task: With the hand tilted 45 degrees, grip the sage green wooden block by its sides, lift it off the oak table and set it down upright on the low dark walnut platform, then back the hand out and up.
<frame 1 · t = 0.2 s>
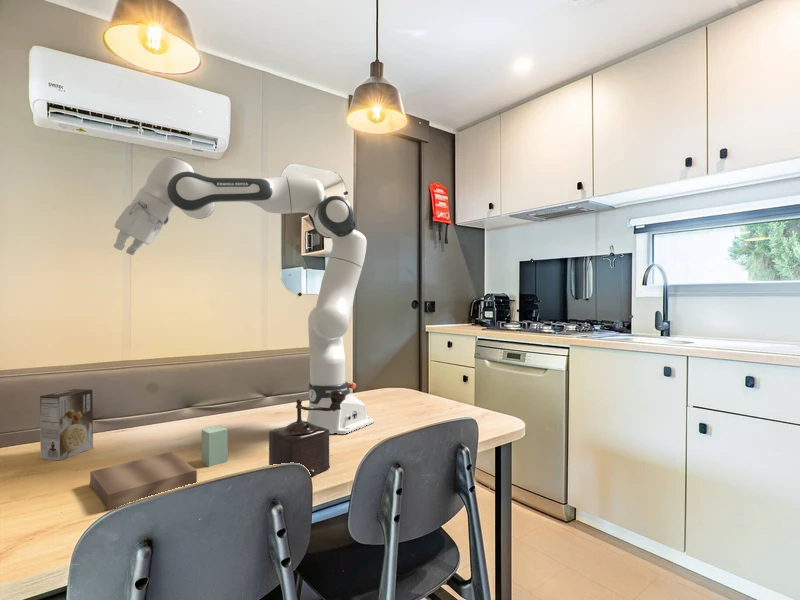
hand: (123, 251, 113), 53 cm above the table, tool tilted 25°, fingers open, 8 cm apart
manual coffee grinder: (309, 467, 99), on the table
sage block: (214, 461, 102), on the table
walnut platform: (143, 484, 89), on the table
coffee box: (67, 454, 108), on the table
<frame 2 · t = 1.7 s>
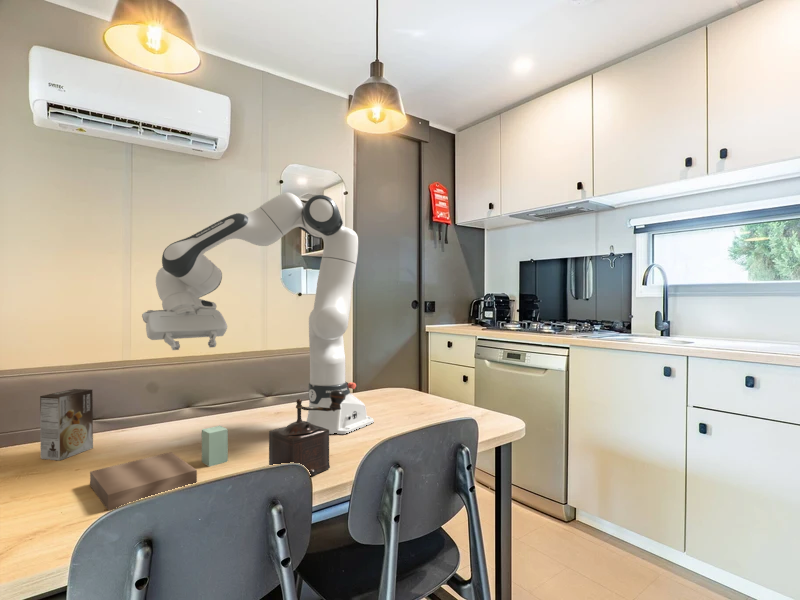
hand: (195, 347, 111), 27 cm above the table, tool tilted 45°, fingers open, 8 cm apart
nothing on the table moved.
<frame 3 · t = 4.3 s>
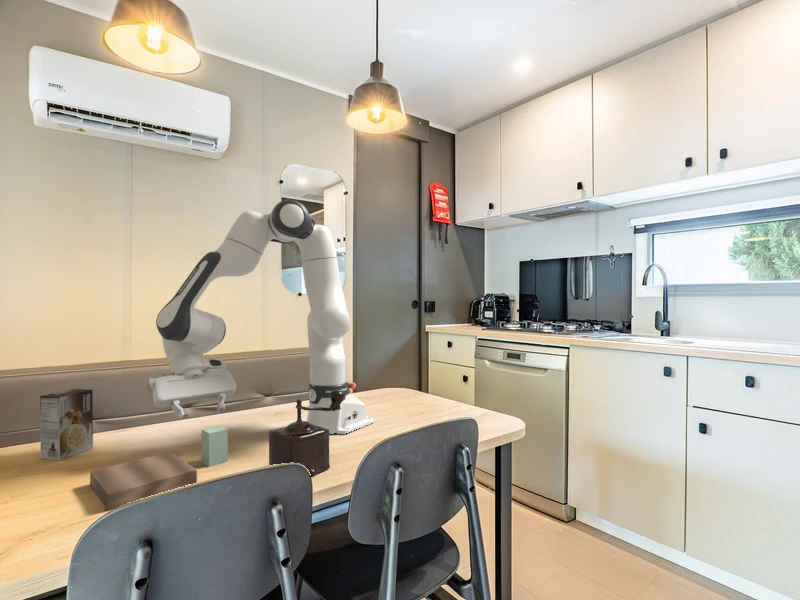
hand: (203, 413, 107), 11 cm above the table, tool tilted 45°, fingers open, 8 cm apart
nothing on the table moved.
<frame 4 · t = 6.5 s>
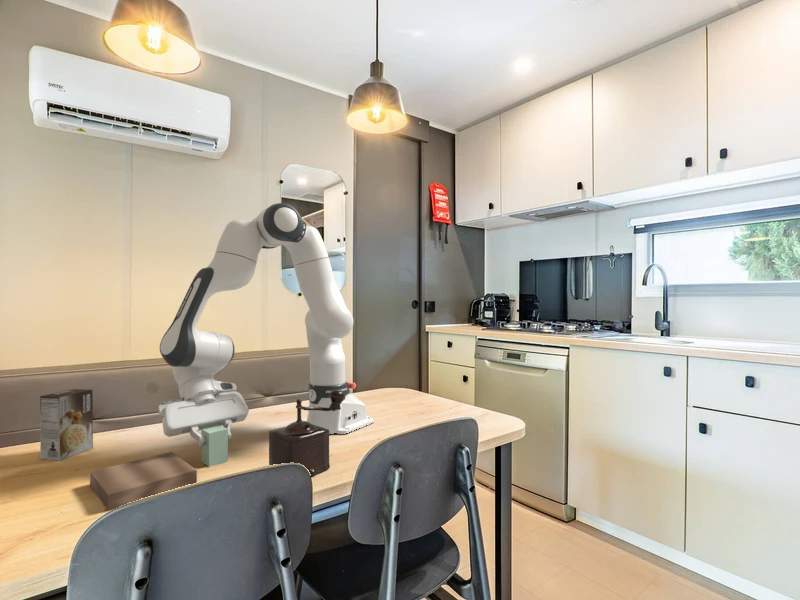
hand: (215, 441, 102), 5 cm above the table, tool tilted 45°, fingers closed on sage block, 4 cm apart
sage block: (214, 461, 102), on the table, touching gripper
everything else where it was.
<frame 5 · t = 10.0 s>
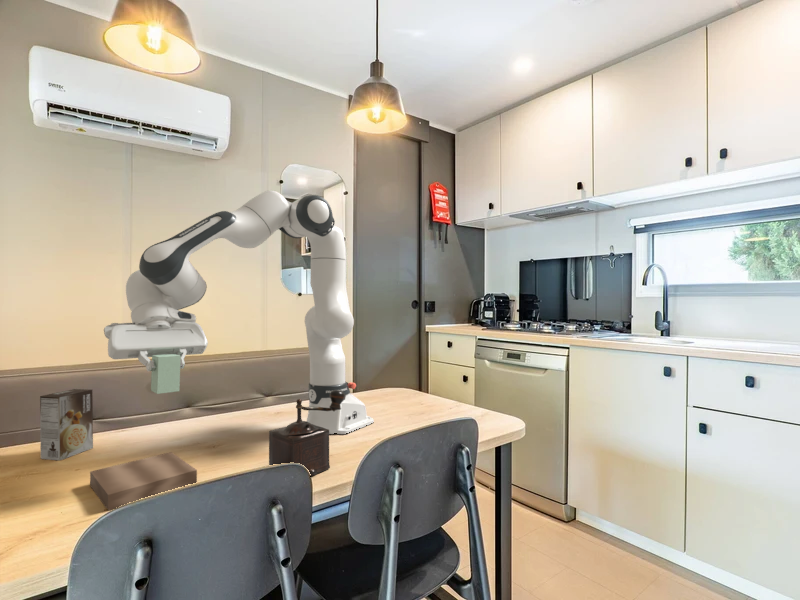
hand: (166, 368, 93), 25 cm above the table, tool tilted 45°, fingers closed on sage block, 4 cm apart
sage block: (165, 390, 93), point 19 cm above the table, touching gripper
everything else where it was.
when the fingers open (10 cm above the table, at t = 13.4 s): sage block drops 1 cm, resting on walnut platform.
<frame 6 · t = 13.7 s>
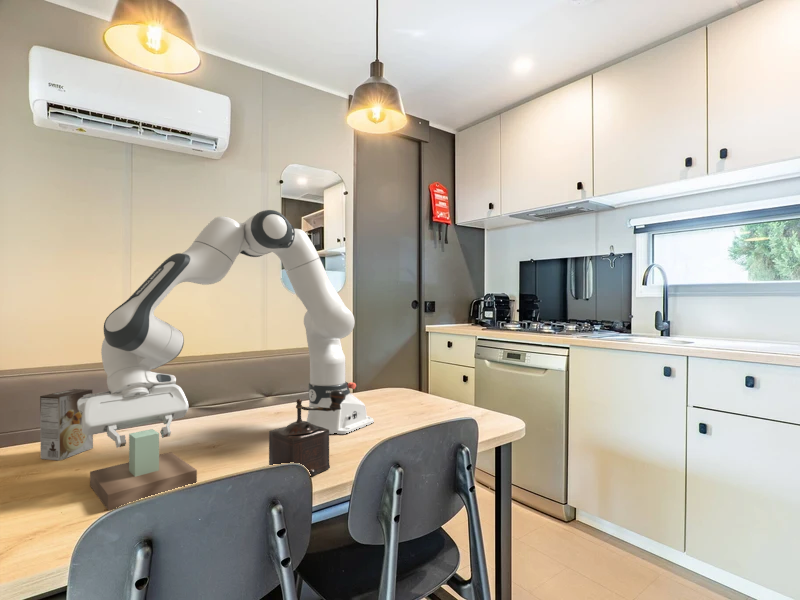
hand: (144, 440, 89), 10 cm above the table, tool tilted 45°, fingers open, 7 cm apart
sage block: (144, 470, 89), point 3 cm above the table, touching walnut platform
everything else where it was.
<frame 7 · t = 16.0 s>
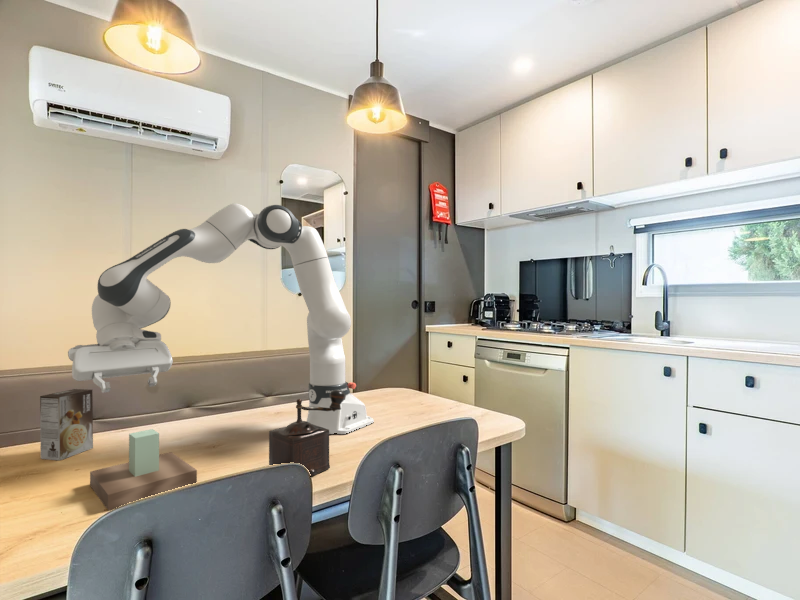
hand: (130, 387, 96), 20 cm above the table, tool tilted 45°, fingers open, 8 cm apart
nothing on the table moved.
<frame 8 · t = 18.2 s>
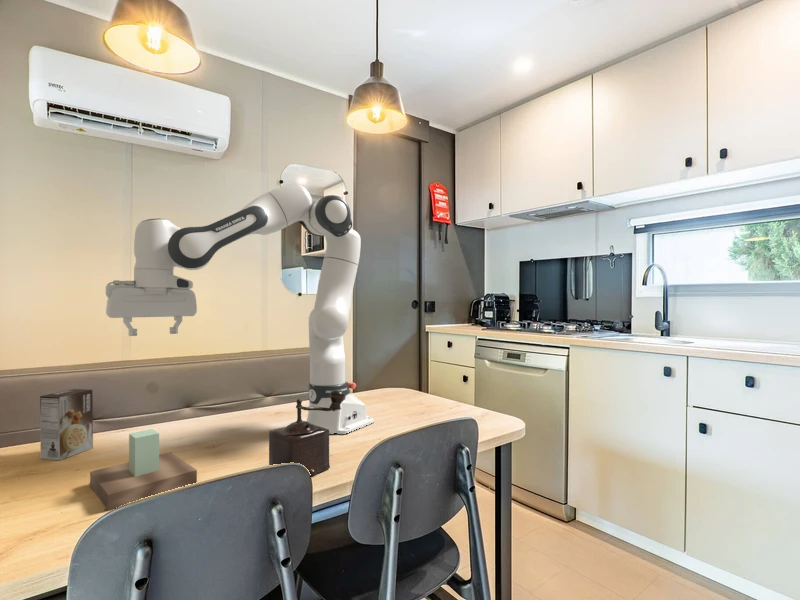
hand: (153, 334, 107), 31 cm above the table, tool pointing down, fingers open, 8 cm apart
nothing on the table moved.
at the end: sage block inside the target area on the walnut platform (0.1 cm from its centre), point 3.0 cm above the walnut platform's base; sage block tilted 0°; the gripper is holding nothing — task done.
